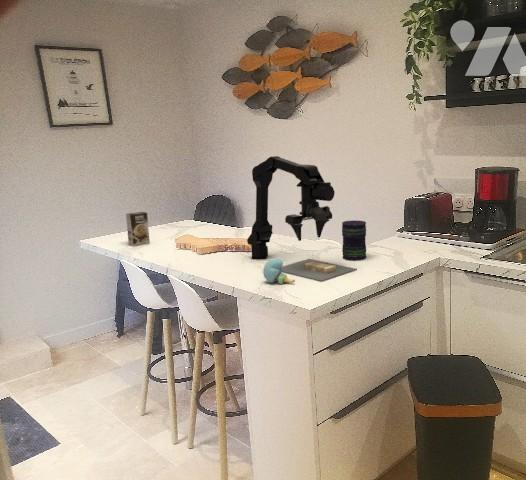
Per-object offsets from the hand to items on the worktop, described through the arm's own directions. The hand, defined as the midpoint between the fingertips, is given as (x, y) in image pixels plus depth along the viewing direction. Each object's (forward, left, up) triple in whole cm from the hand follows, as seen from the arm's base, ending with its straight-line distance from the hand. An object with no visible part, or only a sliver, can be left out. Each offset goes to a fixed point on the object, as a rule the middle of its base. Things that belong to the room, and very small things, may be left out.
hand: (309, 239), depth 197 cm
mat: (+2, -3, -12) cm, 12 cm away
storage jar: (+19, +14, -12) cm, 26 cm away
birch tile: (-1, 0, -10) cm, 10 cm away
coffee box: (-85, +56, -12) cm, 103 cm away
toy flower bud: (-11, -18, -12) cm, 25 cm away
